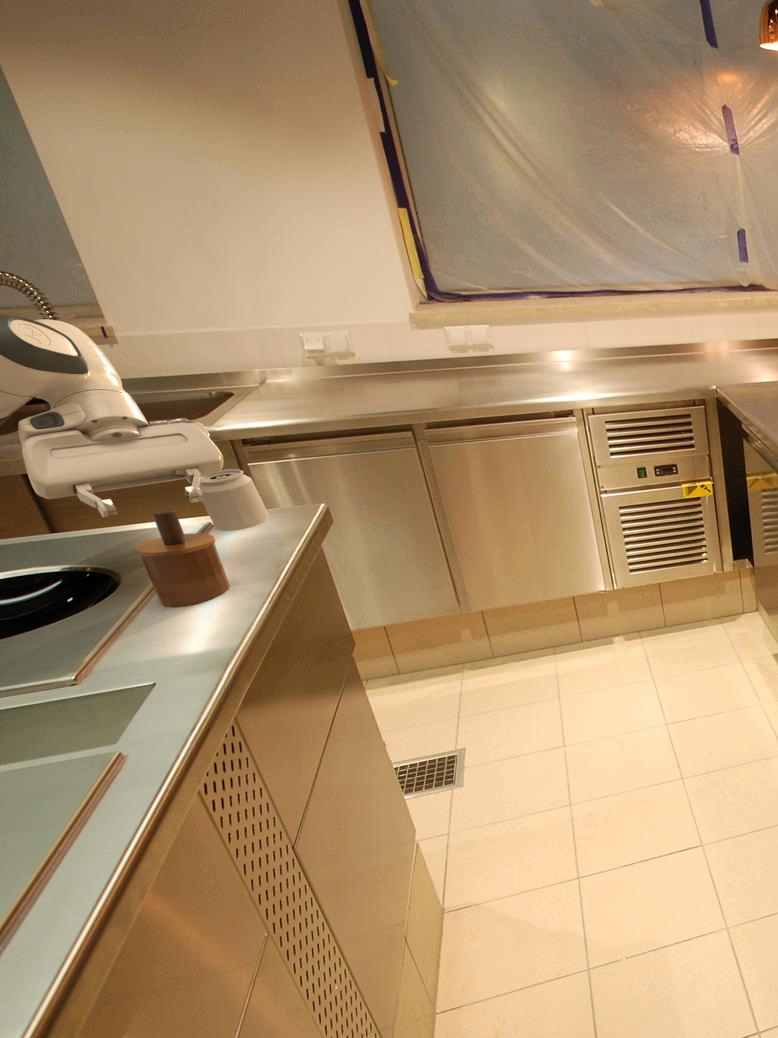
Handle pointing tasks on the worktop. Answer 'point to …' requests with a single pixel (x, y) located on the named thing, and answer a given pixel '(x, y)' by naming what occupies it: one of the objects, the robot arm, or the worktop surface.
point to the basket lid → (172, 537)
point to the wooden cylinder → (187, 577)
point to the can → (232, 500)
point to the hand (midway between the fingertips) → (155, 506)
